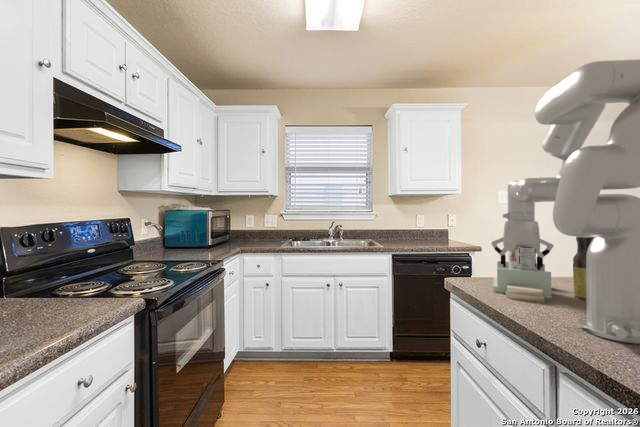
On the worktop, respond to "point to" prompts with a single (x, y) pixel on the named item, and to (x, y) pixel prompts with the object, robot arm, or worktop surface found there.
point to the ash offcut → (525, 290)
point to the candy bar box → (522, 258)
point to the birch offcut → (524, 297)
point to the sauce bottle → (580, 266)
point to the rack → (522, 278)
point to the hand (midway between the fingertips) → (521, 267)
